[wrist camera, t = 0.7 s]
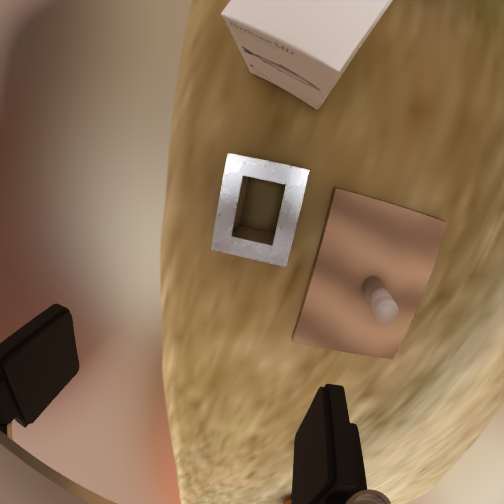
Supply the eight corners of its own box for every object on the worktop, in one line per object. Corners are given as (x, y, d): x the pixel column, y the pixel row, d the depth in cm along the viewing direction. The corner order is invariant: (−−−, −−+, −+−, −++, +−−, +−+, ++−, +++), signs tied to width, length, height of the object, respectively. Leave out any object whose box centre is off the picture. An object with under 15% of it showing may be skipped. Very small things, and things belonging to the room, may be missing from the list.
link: (236, 154, 26) (227, 153, 22) (306, 169, 25) (309, 170, 22) (221, 237, 28) (210, 249, 25) (287, 252, 28) (286, 267, 24)
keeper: (334, 187, 26) (347, 195, 19) (443, 220, 25) (477, 237, 19) (292, 336, 31) (290, 376, 25) (390, 353, 30) (405, 390, 24)
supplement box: (247, 73, 23) (213, 12, 11) (289, 17, 21) (284, -62, 9) (317, 113, 24) (339, 74, 12) (357, 55, 21) (399, -9, 10)
